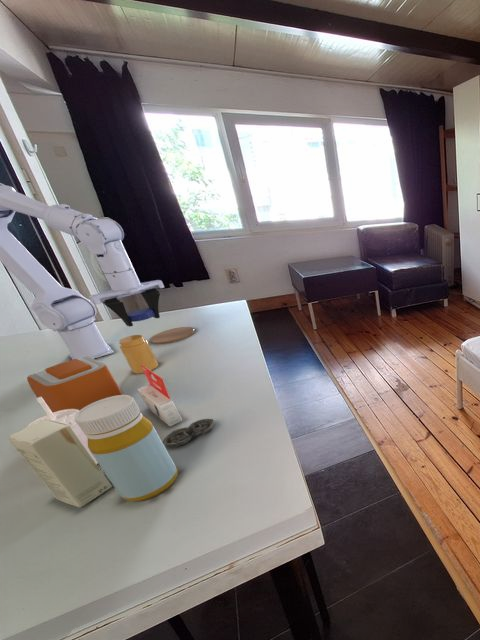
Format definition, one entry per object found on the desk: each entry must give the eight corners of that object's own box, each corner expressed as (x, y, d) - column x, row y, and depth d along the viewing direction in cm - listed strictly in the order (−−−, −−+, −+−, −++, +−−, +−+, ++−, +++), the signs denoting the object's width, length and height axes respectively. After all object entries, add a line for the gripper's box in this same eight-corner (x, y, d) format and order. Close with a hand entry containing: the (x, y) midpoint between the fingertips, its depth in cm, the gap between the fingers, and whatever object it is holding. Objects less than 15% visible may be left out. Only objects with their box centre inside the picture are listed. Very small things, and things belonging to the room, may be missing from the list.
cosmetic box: (114, 487, 57) (72, 424, 51) (80, 509, 53) (31, 445, 48) (88, 478, 59) (45, 417, 53) (54, 499, 55) (4, 436, 50)
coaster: (146, 337, 110) (145, 336, 110) (188, 325, 118) (187, 324, 118) (156, 346, 104) (156, 345, 104) (200, 333, 111) (199, 332, 111)
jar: (130, 369, 92) (114, 340, 88) (154, 361, 96) (140, 332, 92) (136, 375, 89) (120, 344, 85) (161, 366, 93) (147, 336, 89)
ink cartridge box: (169, 427, 70) (147, 384, 65) (148, 409, 76) (125, 369, 71) (184, 420, 72) (163, 378, 67) (162, 403, 77) (141, 363, 73)
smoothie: (77, 483, 58) (25, 412, 52) (47, 478, 59) (-8, 408, 53) (119, 454, 64) (76, 387, 57) (90, 451, 65) (45, 384, 58)
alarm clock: (142, 420, 72) (109, 361, 66) (88, 447, 66) (45, 384, 59) (109, 402, 79) (76, 346, 73) (56, 425, 72) (14, 366, 66)
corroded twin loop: (219, 429, 69) (217, 424, 68) (169, 453, 63) (166, 448, 63) (210, 419, 72) (208, 414, 71) (161, 441, 66) (159, 436, 66)
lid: (133, 323, 92) (130, 317, 91) (123, 319, 95) (120, 314, 94) (159, 315, 96) (156, 309, 96) (149, 312, 99) (146, 306, 98)
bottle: (144, 471, 60) (98, 395, 53) (188, 467, 60) (148, 391, 53) (111, 506, 54) (54, 425, 47) (160, 501, 54) (111, 420, 47)
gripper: (87, 280, 82) (116, 334, 89) (160, 265, 94) (181, 314, 100) (75, 277, 86) (104, 329, 92) (147, 262, 97) (168, 310, 103)
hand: (143, 321), depth 96 cm, fingers closed on lid, 5 cm apart
